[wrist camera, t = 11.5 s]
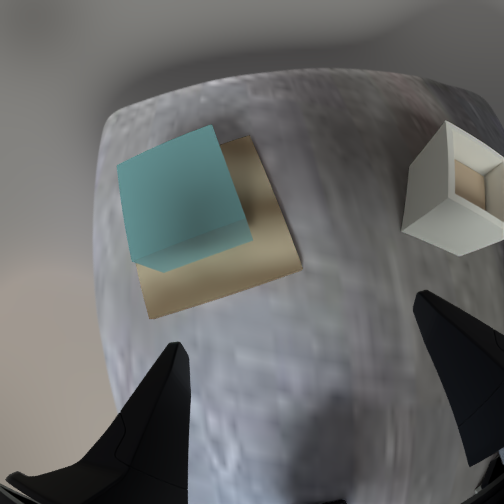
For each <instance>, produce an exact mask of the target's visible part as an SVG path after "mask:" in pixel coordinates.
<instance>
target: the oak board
mask: <svg viewBox="0 0 504 504" xmlns="http://www.w3.org/2000/svg"><path fill="white" fill-rule="evenodd" d="M220 148H221V151H222V154H223V156H224V159H225V162H226V165H227V167H228V170H229V173H230V176H231V178H232V181H233V184H234V187H235V189H236V192H237V195H238V198H239V200H240V203H241V206H242V209H243V211H244V214H245V217H246V220H247V223H248V226H249V229H250V232H251V235H252V238H253V241H250V242H248V243H245V244H242V245H239V246H236V247H234V248H231V249H228V250H225V251H222V252H220V253H217V254H214V255H211V256H209V257H206V258H203V259H200V260H198V261H195V262H192V263H189V264H187V265H184V266H181V267H178V268H176V269H173V270H170V271H168V272H165V273H163V272H160V271H157V270H154V269H151V268H148V267H146V266H143V265H140V264H137V263H136V267H137V271H138V276H139V280H140V284H141V289H142V293H143V297H144V301H145V304H146V308H147V312H148V316H149V319H156V318H159V317H162V316H166V315H169V314H172V313H175V312H179V311H182V310H185V309H188V308H192V307H195V306H198V305H201V304H204V303H207V302H210V301H213V300H217V299H220V298H223V297H226V296H229V295H232V294H235V293H238V292H241V291H244V290H247V289H250V288H253V287H256V286H259V285H261V284H264V283H267V282H270V281H273V280H276V279H279V278H282V277H285V276H287V275H290V274H293V273H296V272H299V271H301V270H302V269H303V267H302V265H301V262H300V259H299V257H298V254H297V251H296V249H295V246H294V243H293V241H292V238H291V235H290V233H289V230H288V228H287V225H286V222H285V220H284V217H283V215H282V212H281V210H280V207H279V205H278V202H277V200H276V197H275V195H274V192H273V190H272V187H271V185H270V182H269V180H268V177H267V175H266V173H265V170H264V168H263V165H262V163H261V161H260V158H259V156H258V154H257V151H256V149H255V147H254V144H253V142H252V140H251V137H250V135H249V136H245V137H242V138H239V139H236V140H233V141H230V142H227V143H224V144H221V145H220Z"/></svg>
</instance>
